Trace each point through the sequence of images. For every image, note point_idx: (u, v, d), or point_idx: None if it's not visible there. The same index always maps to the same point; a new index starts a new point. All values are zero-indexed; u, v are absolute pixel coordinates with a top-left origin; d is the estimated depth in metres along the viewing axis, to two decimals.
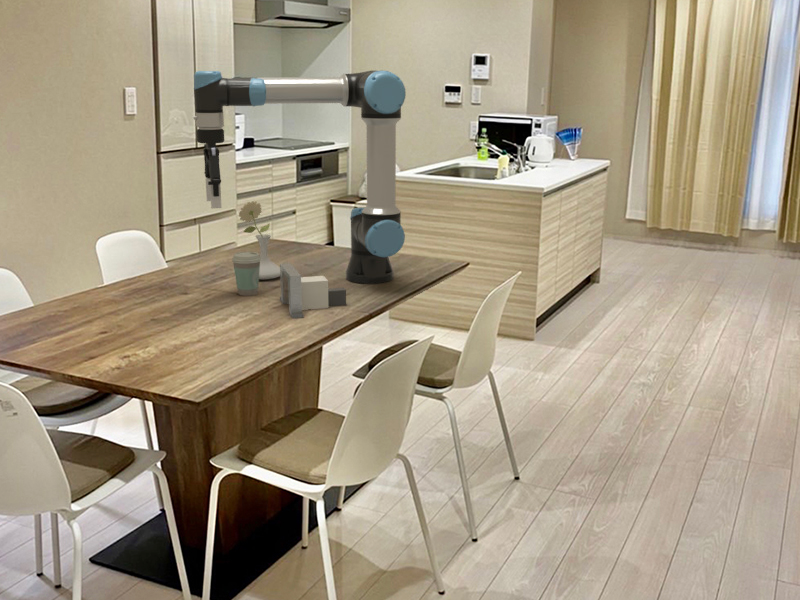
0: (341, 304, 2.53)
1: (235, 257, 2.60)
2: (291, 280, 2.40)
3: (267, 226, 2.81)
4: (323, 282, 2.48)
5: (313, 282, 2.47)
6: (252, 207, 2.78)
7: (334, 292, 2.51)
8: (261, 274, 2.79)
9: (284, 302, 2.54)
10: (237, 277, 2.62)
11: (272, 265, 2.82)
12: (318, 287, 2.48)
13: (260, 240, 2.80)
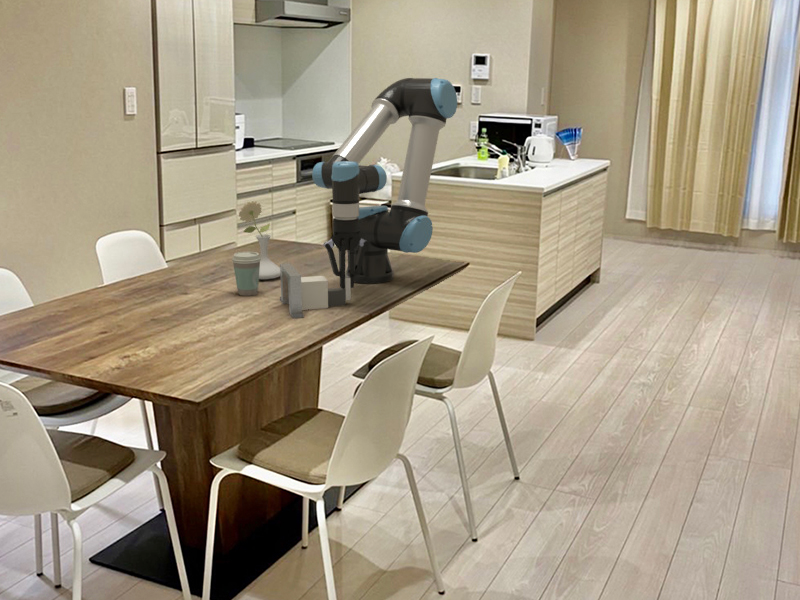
0: (341, 304, 2.53)
1: (235, 257, 2.60)
2: (291, 280, 2.40)
3: (267, 226, 2.81)
4: (323, 282, 2.48)
5: (313, 282, 2.47)
6: (252, 207, 2.78)
7: (334, 292, 2.51)
8: (261, 274, 2.79)
9: (284, 302, 2.54)
10: (237, 277, 2.62)
11: (272, 265, 2.82)
12: (318, 287, 2.48)
13: (260, 240, 2.80)
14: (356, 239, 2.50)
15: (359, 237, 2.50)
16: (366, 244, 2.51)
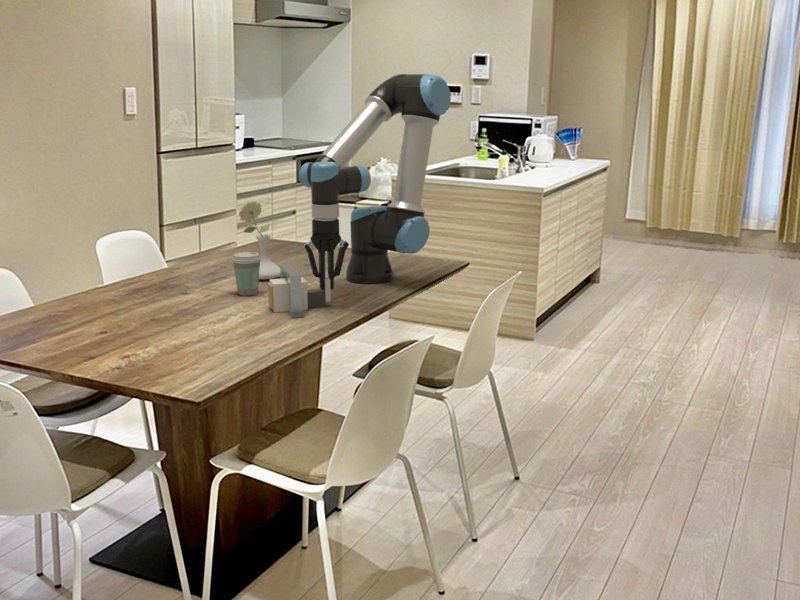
0: (320, 306, 2.51)
1: (235, 257, 2.60)
2: (291, 280, 2.40)
3: (267, 226, 2.81)
4: (302, 283, 2.46)
5: None
6: (252, 207, 2.78)
7: (313, 293, 2.49)
8: (261, 274, 2.79)
9: None
10: (237, 277, 2.62)
11: (272, 265, 2.82)
12: None
13: (260, 240, 2.80)
14: (336, 240, 2.48)
15: (339, 238, 2.48)
16: (346, 245, 2.49)
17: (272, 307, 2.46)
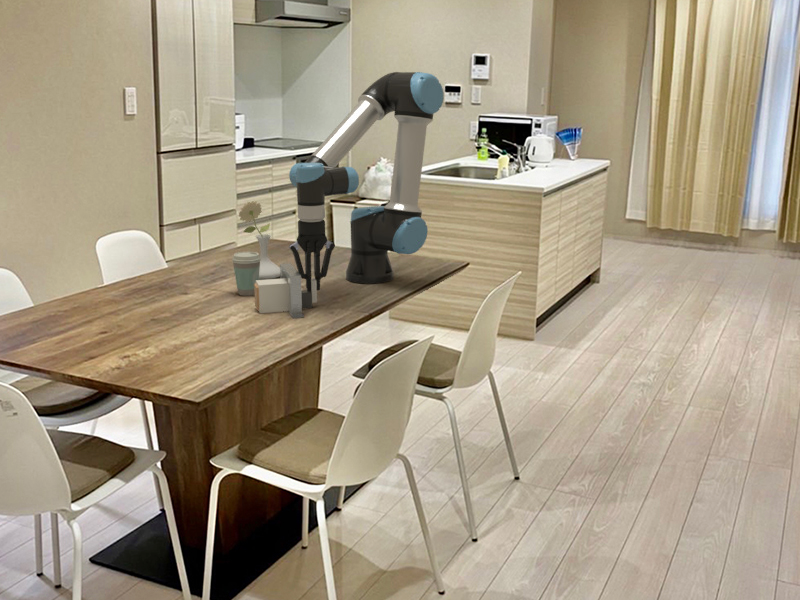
0: (307, 307, 2.50)
1: (235, 257, 2.60)
2: (291, 280, 2.40)
3: (267, 226, 2.81)
4: None
5: (278, 284, 2.44)
6: (252, 207, 2.78)
7: None
8: (261, 274, 2.79)
9: None
10: (237, 277, 2.62)
11: (272, 265, 2.82)
12: (283, 290, 2.45)
13: (260, 240, 2.80)
14: (322, 241, 2.47)
15: (325, 239, 2.47)
16: (332, 246, 2.48)
17: (258, 308, 2.45)
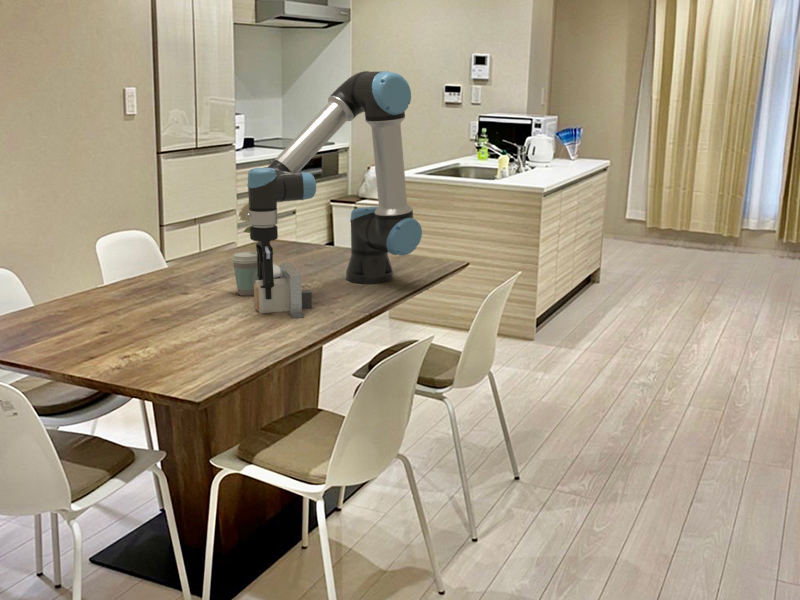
0: (307, 307, 2.50)
1: (235, 257, 2.60)
2: (291, 280, 2.40)
3: None
4: None
5: (278, 284, 2.44)
6: None
7: None
8: None
9: None
10: (237, 277, 2.62)
11: None
12: (283, 290, 2.45)
13: None
14: None
15: None
16: None
17: (258, 308, 2.45)
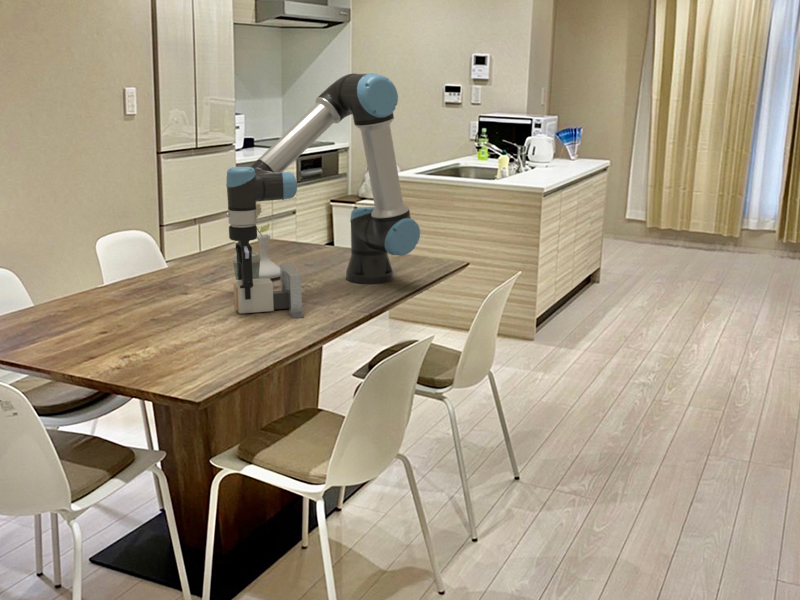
0: (287, 307, 2.48)
1: (235, 257, 2.60)
2: (291, 280, 2.40)
3: (267, 226, 2.81)
4: (268, 284, 2.43)
5: (257, 284, 2.43)
6: None
7: (279, 294, 2.47)
8: (261, 274, 2.79)
9: None
10: (237, 277, 2.62)
11: (272, 265, 2.82)
12: (262, 289, 2.43)
13: (260, 240, 2.80)
14: None
15: None
16: None
17: (237, 308, 2.43)
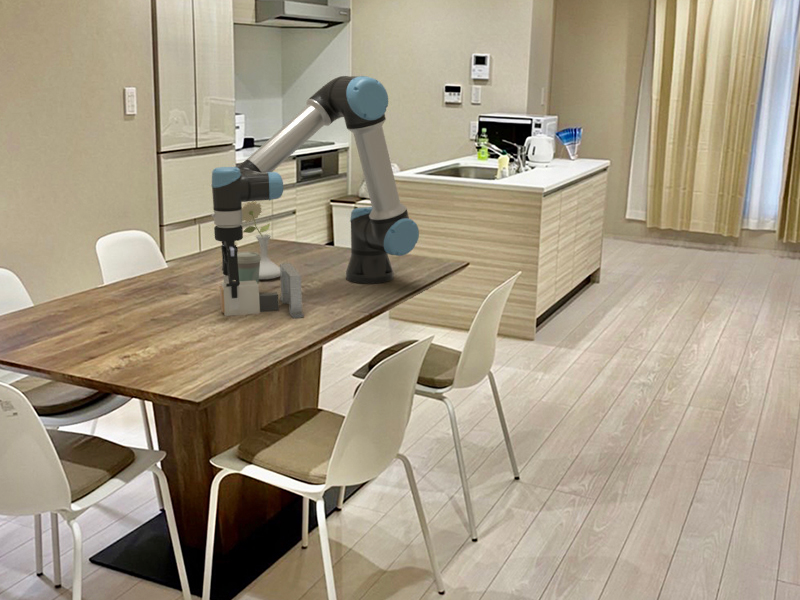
0: (273, 309, 2.47)
1: None
2: (291, 280, 2.40)
3: (267, 226, 2.81)
4: (254, 287, 2.42)
5: (243, 287, 2.42)
6: (252, 207, 2.78)
7: (266, 297, 2.46)
8: (261, 274, 2.79)
9: (284, 302, 2.54)
10: None
11: (272, 265, 2.82)
12: (249, 292, 2.42)
13: (260, 240, 2.80)
14: None
15: None
16: None
17: (223, 311, 2.42)
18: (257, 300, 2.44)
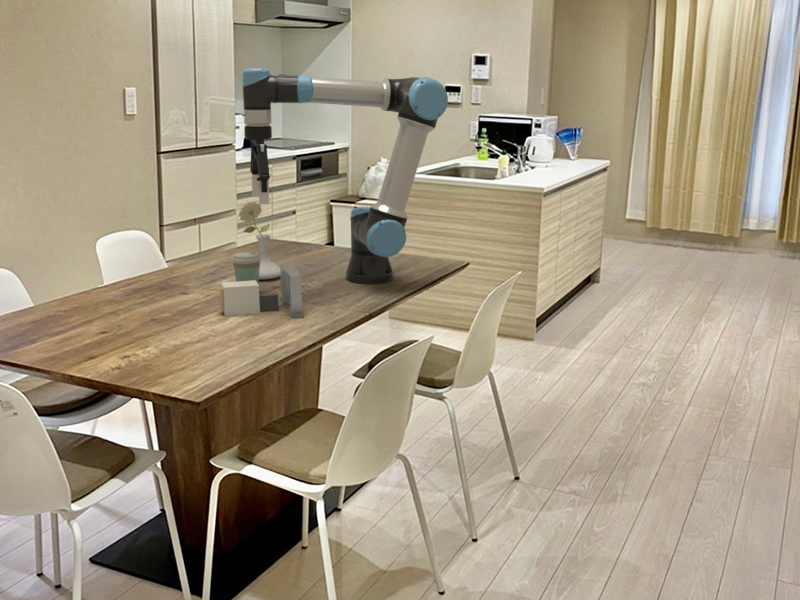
0: (273, 309, 2.47)
1: (235, 257, 2.60)
2: (291, 280, 2.40)
3: (267, 226, 2.81)
4: (254, 287, 2.42)
5: (243, 287, 2.42)
6: (252, 207, 2.78)
7: (266, 297, 2.46)
8: (261, 274, 2.79)
9: (284, 302, 2.54)
10: (237, 277, 2.62)
11: (272, 265, 2.82)
12: (249, 292, 2.42)
13: (260, 240, 2.80)
14: None
15: None
16: None
17: (223, 311, 2.42)
18: (257, 300, 2.44)
